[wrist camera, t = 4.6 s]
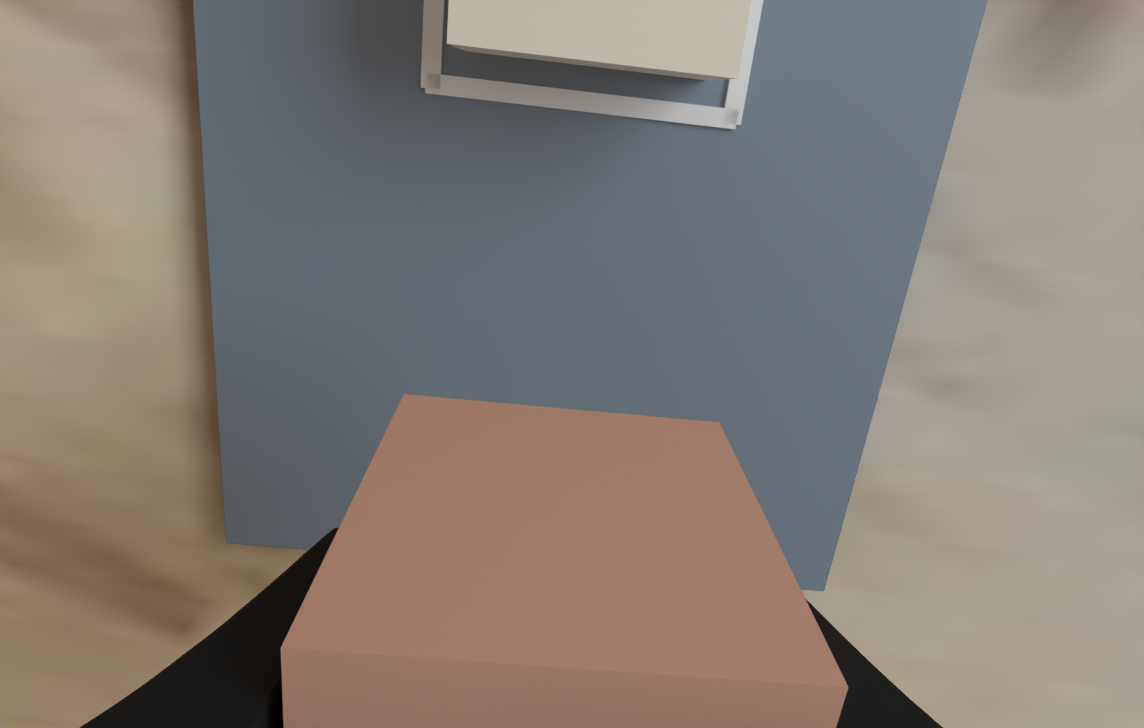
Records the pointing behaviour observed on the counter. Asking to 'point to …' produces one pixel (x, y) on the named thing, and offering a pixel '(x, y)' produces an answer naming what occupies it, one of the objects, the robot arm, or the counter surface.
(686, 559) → the terracotta block
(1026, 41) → the counter surface
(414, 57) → the board
